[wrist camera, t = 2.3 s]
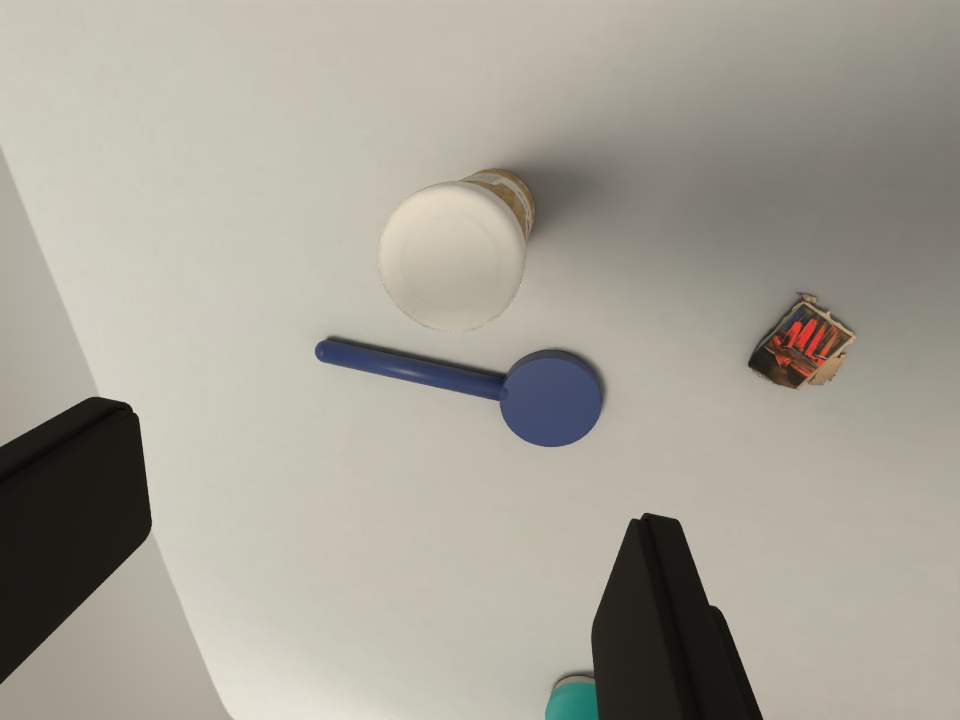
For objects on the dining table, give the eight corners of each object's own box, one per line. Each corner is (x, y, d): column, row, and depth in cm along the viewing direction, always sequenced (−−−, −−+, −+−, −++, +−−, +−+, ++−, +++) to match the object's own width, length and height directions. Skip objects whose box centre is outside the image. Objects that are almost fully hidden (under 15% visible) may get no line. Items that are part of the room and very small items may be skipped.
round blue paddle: (318, 386, 33) (308, 396, 32) (323, 299, 31) (313, 306, 30) (585, 446, 32) (586, 458, 31) (611, 362, 30) (614, 371, 29)
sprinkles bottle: (538, 250, 28) (528, 332, 16) (457, 257, 29) (387, 341, 16) (532, 162, 26) (517, 177, 14) (446, 171, 27) (360, 193, 15)
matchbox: (740, 371, 29) (743, 375, 29) (787, 288, 27) (791, 290, 27) (818, 396, 29) (822, 400, 29) (871, 315, 27) (876, 318, 27)
